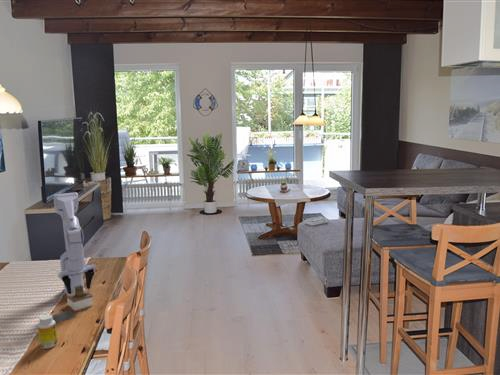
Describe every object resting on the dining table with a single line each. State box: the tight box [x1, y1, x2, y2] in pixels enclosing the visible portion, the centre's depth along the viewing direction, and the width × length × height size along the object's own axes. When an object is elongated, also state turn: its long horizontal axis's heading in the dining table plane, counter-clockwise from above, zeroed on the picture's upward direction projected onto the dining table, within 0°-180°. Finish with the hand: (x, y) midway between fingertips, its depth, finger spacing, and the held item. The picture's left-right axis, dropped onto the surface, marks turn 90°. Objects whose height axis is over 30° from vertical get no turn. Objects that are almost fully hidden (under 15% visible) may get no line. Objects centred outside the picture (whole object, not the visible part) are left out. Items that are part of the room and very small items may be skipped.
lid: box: [66, 285, 94, 302], centre depth 185 cm, size 8×8×4 cm
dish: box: [66, 296, 94, 312], centre depth 186 cm, size 8×8×4 cm
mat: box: [51, 310, 77, 324], centre depth 176 cm, size 8×8×1 cm
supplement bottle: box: [37, 314, 58, 349], centre depth 154 cm, size 6×6×10 cm
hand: (79, 290), depth 185 cm, fingers open, 7 cm apart
